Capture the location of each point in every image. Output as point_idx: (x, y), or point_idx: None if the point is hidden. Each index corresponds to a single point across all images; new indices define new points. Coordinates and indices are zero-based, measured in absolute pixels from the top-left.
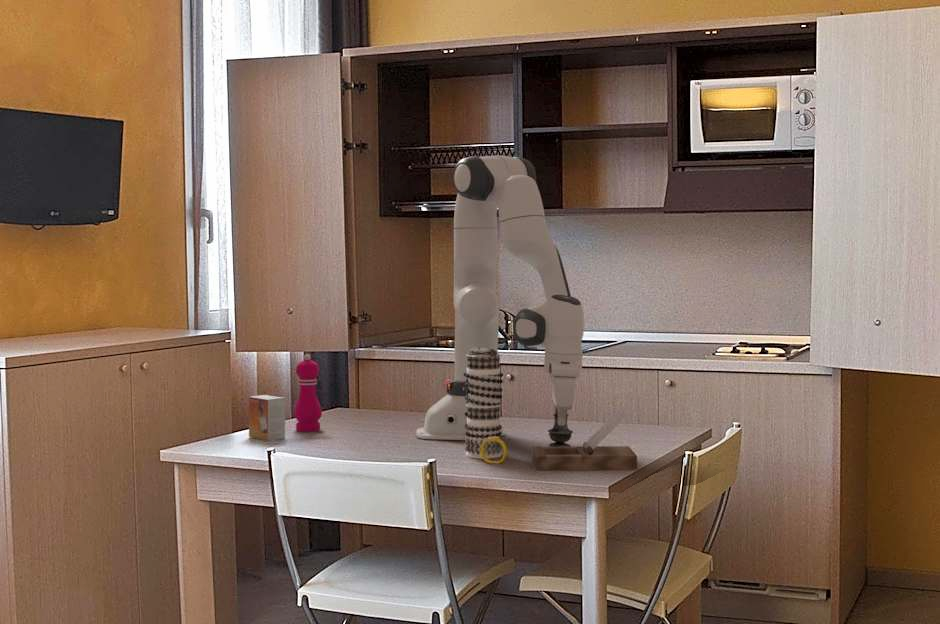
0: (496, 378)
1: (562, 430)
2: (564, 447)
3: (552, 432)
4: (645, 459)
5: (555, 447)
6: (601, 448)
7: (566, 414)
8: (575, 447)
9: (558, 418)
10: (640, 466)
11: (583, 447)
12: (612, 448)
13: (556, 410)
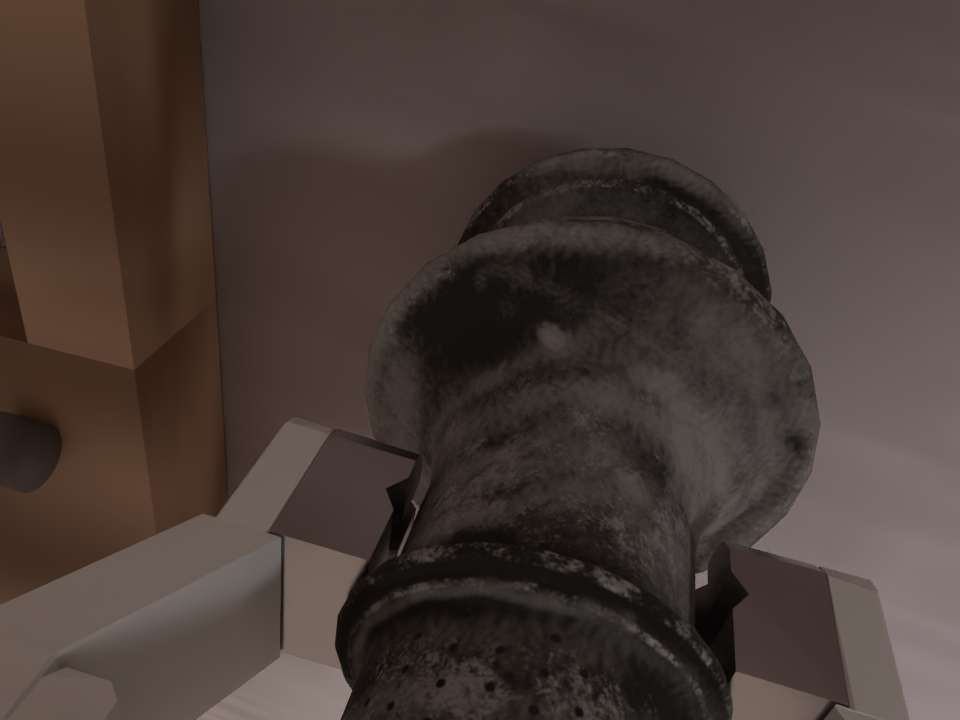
0: None
1: (416, 434)
2: (56, 226)
3: (438, 257)
4: (236, 717)
5: (37, 104)
6: (53, 544)
7: None
8: (70, 348)
9: (221, 510)
10: None
11: (83, 424)
12: None
13: (416, 713)
